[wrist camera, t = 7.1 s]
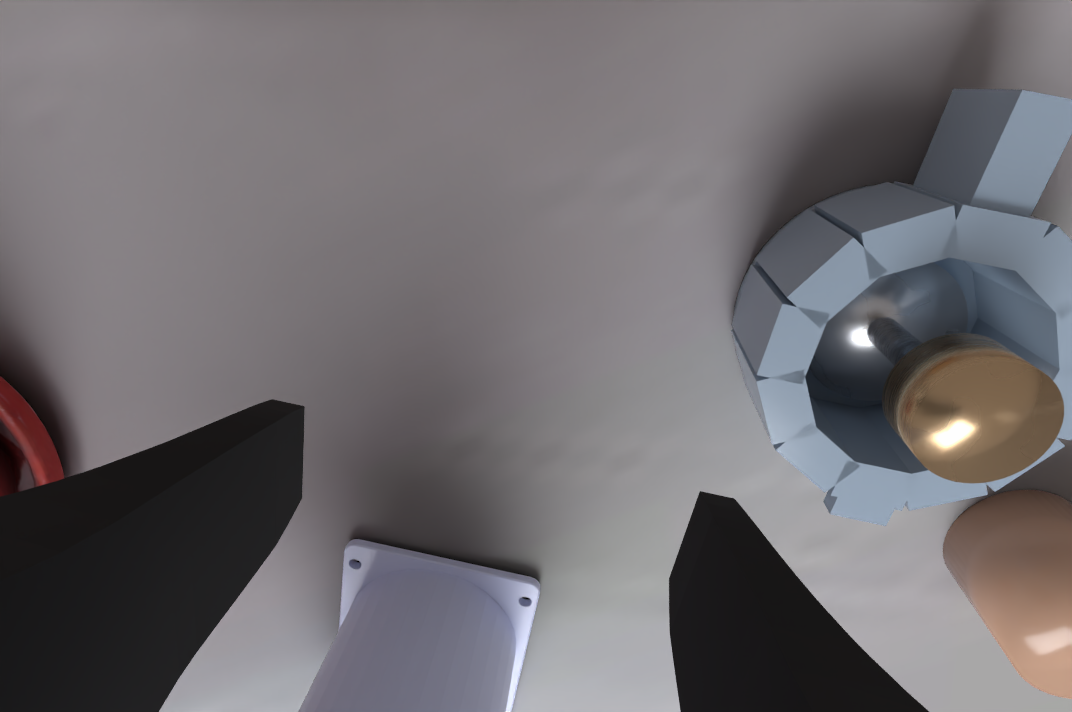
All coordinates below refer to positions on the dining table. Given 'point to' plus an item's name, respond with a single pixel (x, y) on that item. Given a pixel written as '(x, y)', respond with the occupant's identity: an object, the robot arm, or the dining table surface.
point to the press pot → (899, 244)
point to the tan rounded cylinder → (1020, 580)
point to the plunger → (939, 378)
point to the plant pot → (24, 445)
